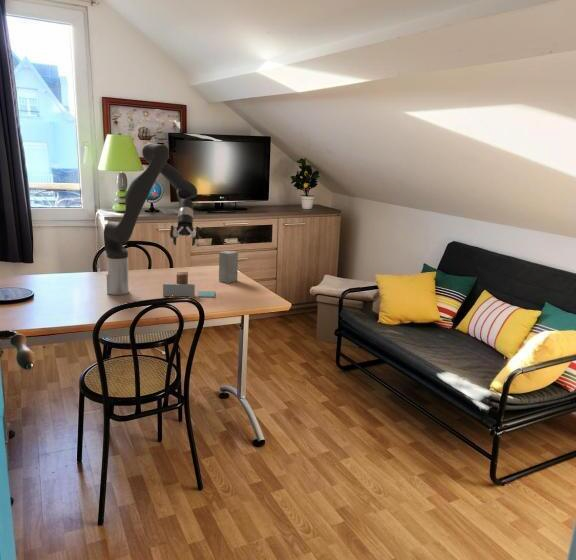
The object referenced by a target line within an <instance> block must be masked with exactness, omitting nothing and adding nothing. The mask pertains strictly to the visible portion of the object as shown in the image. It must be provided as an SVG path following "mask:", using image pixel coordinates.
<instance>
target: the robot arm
mask: <svg viewBox="0 0 576 560" xmlns="http://www.w3.org/2000/svg"><path fill="white" fill-rule="evenodd" d="M141 154H142V157H143V159H144V160H145V161H146V162H147V163H148V166H147V167H146V168H145V170H144V171H142V172H140V174H139V175H138V176H136V177H135V178H134V179H133V180H132V181H131V183H130V185H129V187H128V189H127V191H126V193H125V196H124V197H125V200H124V202H125V211H124V213H123V216H122V217H121V220H120V222H118V221H109V222H108V223H107V224H106V225H105V226H104V228H103V243H104V251H105V253H106V262H107V264H106V265H107V267H106V268H107V271H106V272H107V273H106V294H109V295H112V296H121V295H126V294H128V293H129V291H130V290H129V288H130V287H129V251H128V249H126V248H125V246H124V245H123V244H127V242H128V241H129V240H130V239H131V237H132V234H133V231H134V229H135V226H136V223H137V221H138V218H139V215H140V214H141V211H142V209H143V207H144V205H145V202H146V201H147V199H148V198H149V195H150V193H151V190H152V189H153V186H154V184H155V182H156V180H157V178H158V176H159V175H160V174H161V175H162V176H163V177H164V178H165V179H166V180H167V182H168V183H170V185H171V186H172V187H173V188H174V189H175V190H176V197H177V199H178V206H179V207H178V212H177V213H178V214H177V226H174V225H171V226H170V231H169V238H170V239H172V241H173V242H172V244H173V245H174V246H177V238H180V236H182V237H183V236H186V237H187V236H189V237H190V238H191V246H192V247H195V245H196V240H199V239H200V229H199V228H200V227H199V226H196V227H194V226H193V225H194V223H193V222H194V211H193V210H194V203H193V200H191V199H193V198H196V197H197V195H198V189H197V187H196V185H194V184H193V183H192V182H190V181H189V180H188V179H186V178H184V176H183V175H182V174H181V172H180V171H179V170H177V169H176V168H175V167H173V166H172V165H171V164H169V163H168V159H169V157H170V152H169V148H168V146H167V145H165V144H160V143H153V142H151V143H150V142H147V143H146V144H145V145H144V146H143V148H142V153H141ZM175 231H176V232H175ZM174 232H175V233H174ZM194 232H195V233H196V234H194Z"/></svg>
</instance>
